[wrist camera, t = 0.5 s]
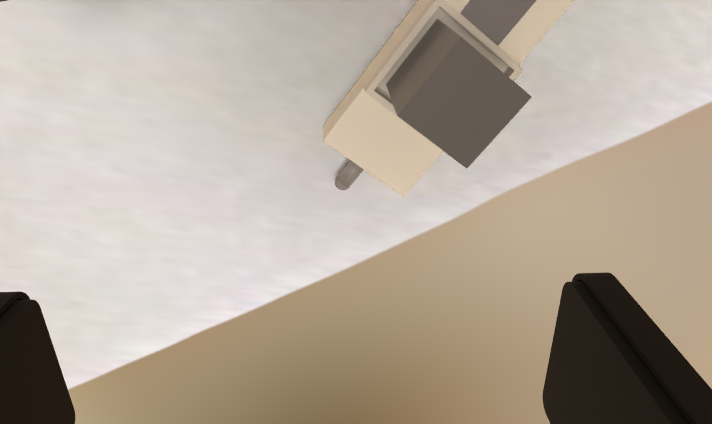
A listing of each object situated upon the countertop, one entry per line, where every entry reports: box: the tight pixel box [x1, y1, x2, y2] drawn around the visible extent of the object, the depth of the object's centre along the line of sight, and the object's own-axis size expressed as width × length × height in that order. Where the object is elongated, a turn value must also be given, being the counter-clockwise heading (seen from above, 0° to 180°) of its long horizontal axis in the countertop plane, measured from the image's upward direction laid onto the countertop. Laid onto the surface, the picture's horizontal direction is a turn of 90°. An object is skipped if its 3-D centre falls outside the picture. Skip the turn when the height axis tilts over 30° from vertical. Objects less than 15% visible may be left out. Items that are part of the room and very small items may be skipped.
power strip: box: [323, 0, 575, 197], centre depth 35 cm, size 23×7×5 cm, turn 143°
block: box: [386, 19, 531, 168], centre depth 31 cm, size 5×5×7 cm
